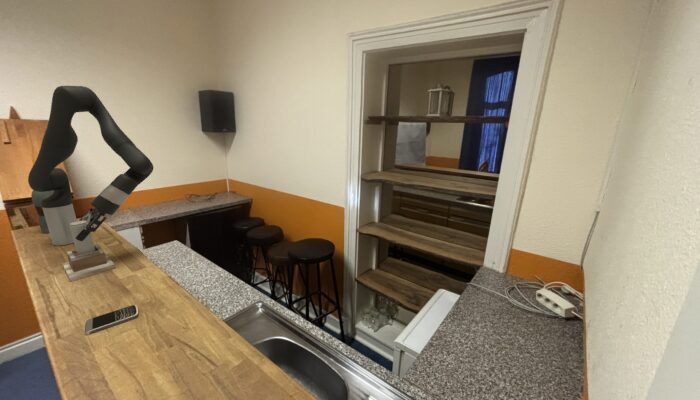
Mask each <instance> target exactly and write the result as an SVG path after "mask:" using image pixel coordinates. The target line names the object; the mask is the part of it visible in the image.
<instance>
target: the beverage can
mask: <svg viewBox="0 0 700 400" xmlns="http://www.w3.org/2000/svg"><path fill="white" fill-rule="evenodd" d="M85 222H86V221H79V220H77V221H76V222H72V223H70V229H71V233H72V236H73V240H74V243H73V244H74V248H75V250H76V251H77V254H78V255H82V254H86V253H90V252H94V251H95V248H94V245H95V244H94V240H93V237H92V232H90V234H89V235H88V236H87V237H86V238H85V239H84V240H83V241H79V240H77V239H76V236H77V235H78V234H79V233H80V232H81V231H82V230H83V229H84V227H85V226H86V224H85Z"/></svg>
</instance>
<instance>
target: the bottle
mask: <svg viewBox="0 0 700 400" xmlns="http://www.w3.org/2000/svg"><path fill="white" fill-rule="evenodd" d="M53 192H54V190H52V191H45V192H37V191H34V190H33V189H32V192H31V195H30V196H31V202H32V203H33V205H34V208H35V211H36V213H37V217H38V226H39V228H40V230H41V232H42V233H43V234H50V233H49V229H48V226H47V222H46V219H45V215H44V212H43V208H42V205H41V201H42V200H44V199H46V198H48V197H49V196H51V195H52V194H53Z"/></svg>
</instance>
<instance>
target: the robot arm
mask: <svg viewBox="0 0 700 400" xmlns="http://www.w3.org/2000/svg"><path fill="white" fill-rule="evenodd" d="M86 112H87V113H89V114H90V115H92V116H93V118H94V119H95V120H96V121H97V124H99V125H98V126H99V128H100V133H101V137H102V139H103V141H104V142H105V143H106V144H107V146H109V147H110V148H111V150H112V151H113V152H114V153H115V154H117V155H118V156H119V157H120V158H121V159H122V160H123V161H124V163H125V164H126V165H127V166H128V167H129V168H128V169H127V170H126V171H125V172H124V173H121V174H118V175H117V176H116V177H115V178H114V179H113V180H112V181H111V182H110V184H108V185H107V186H106V187H105V188H103V190H101V192H100V193H99V194H98V195H97V196H96V197H95V198H94V199H93V200H92V201H91V202H90V206H91V208H89V210H87V212H86V213H85V214H84V215H83V216H81V218H80V219H79V220H78V219H77V217H76V212H75V209H74V205H73V202H72V199H73V195H72V194H73V193H72V190H71V189H72V188H71V184H70V180H69V176H68V174H67V172H66V171H65V170H64V169H62V168H60V167H58V166H60V164H61V163H63V162H65V161H67V159H69V158H70V157H71V156H72V155H73V154H74V152H75V150H76V148H77V144H78V141H79V138H78V135H77V133H76V131H75V129H74V128H73V126H72V121H73V118H74V115H76V113H86ZM153 171H154V164H153V163H152V161H151V159H149V157H148V156H147V155H146V154H145V153H144V152H142V150H141V149H140V148H139V147H137V146H136V144H135V143H134V142H133V141H132V140H131V139H130V138H129V137H128V136H127V134H126V133H125V132H124V131H123V130H122V129H121V128H120V126H118V124H117V122H116V121H115V120H114V118H113V117H112V115H111V113H110V112H109V111H108V109H107V107H105V105H104V104H103V102H102V101H101V99H100V98H99V96H98V95H97V94H96V93H95V92H94V91H93V90H92V89H90V88H89V87H87V86H82V85H59V86H57V87H56V88H55V89H54V90H53V93H52V97H51V106H50V112H49V118H48V122H47V125H46V129H45V132H44V135H43V138H42V141H41V143H40V149H39V152H38V154H37V157H36V159H35V161H34V163H33V165H32V167H31V169H30V171H29V173H28V176H27V177H28V178H27V182H28V186H29V188H30V189H32V191H33V190H34V191H37V192H45V191H52V190H54V192H53V194H52V195H51V196H49V197H48V198H46V199H44V200H42V201H41V205H42V208H43V212H44V215H45V219H46V222H47V226H48V229H49V233H48V234H49V235H50V240H51V243H52V245H53V246H59V247H60V246H66V245H71V244H74V240H73V236H72V233H71V229H70V223H72V222H76V221H86V222H85V224H86V226H85V227H84V229H83V230H82V231H81V232H80V233H79V234H78V235H77V236H76V239H77V240H79V241H83V240H84V239H85V238H86V237H87V236H88V235H89V234H90V232H91V233H95V232H96V231H97V230H98V228H100V226H101V225H102V224H103V223H104V222H105V221H106V220H107V217H106V216H105V215H106V214H107V215H110V216H113V215H115V213H116V212H117V211H118V209H119V208H120V207H121V206H122V205H123V204H124V203H125V202H126V200H127V199H128V198H129V196H130V195H131V194H132V193H133V191H134V190H135V189H136V188H137V187H138V186H139V185H140V184H142V182H144V181H145V180H147V178H149V177H150V175H152V173H153Z"/></svg>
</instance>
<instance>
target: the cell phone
mask: <svg viewBox="0 0 700 400" xmlns="http://www.w3.org/2000/svg"><path fill="white" fill-rule="evenodd" d="M138 315H139V309H138V305H136V304H132V305H128V306H125V307H122V308H119V309H117V310H113V311H109V312H107V313H104V314H101V315H97V316H95V317H92V318H91V317H90V318H88V319H87V320H86V322H85V325H84V336H85V335H87V336H88V335H91V334H94V333H96V332H100V331H103V330H105V329H108V328H111V327H113V326H117V325H119V324H123V323H125V322H128V321H131V320H134V319H136V318H137V317H138Z"/></svg>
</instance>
